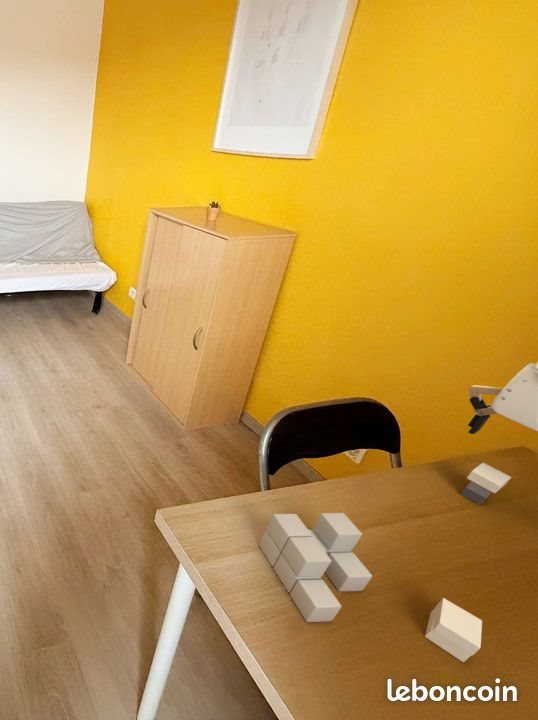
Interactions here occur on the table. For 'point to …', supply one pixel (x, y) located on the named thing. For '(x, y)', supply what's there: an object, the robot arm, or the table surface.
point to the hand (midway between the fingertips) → (508, 448)
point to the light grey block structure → (315, 561)
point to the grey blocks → (476, 493)
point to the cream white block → (488, 477)
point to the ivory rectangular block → (454, 630)
